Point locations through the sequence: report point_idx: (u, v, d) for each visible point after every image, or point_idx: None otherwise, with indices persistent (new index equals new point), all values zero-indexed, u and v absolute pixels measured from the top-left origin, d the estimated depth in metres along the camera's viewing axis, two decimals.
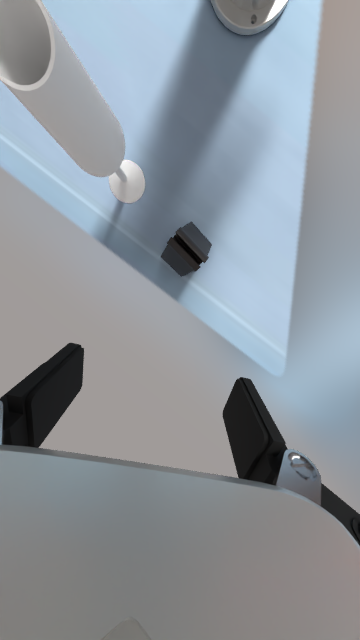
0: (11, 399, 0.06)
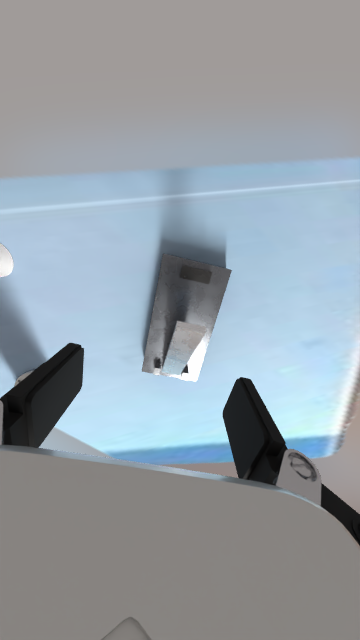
0: (11, 399, 0.06)
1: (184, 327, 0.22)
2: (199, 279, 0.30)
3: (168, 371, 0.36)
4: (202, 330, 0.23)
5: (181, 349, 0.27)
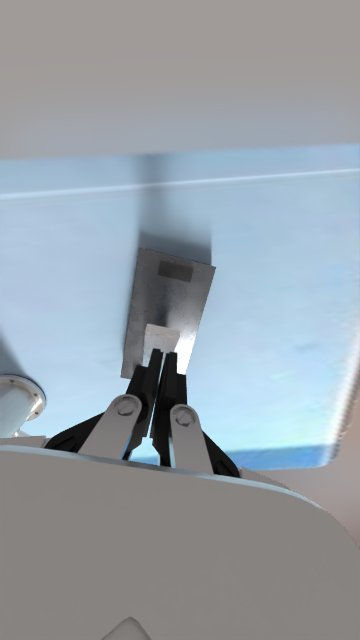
0: (143, 395, 0.08)
1: (155, 331, 0.19)
2: (179, 277, 0.27)
3: None
4: (175, 334, 0.20)
5: None
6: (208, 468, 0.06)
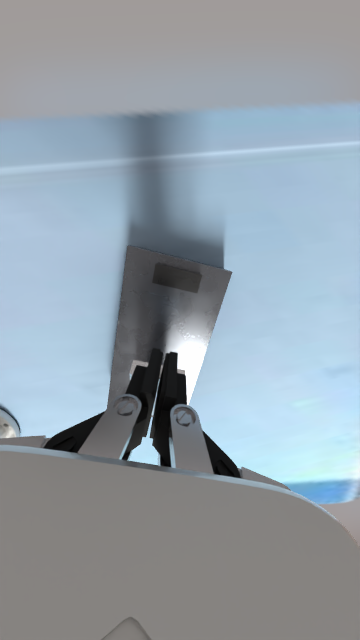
0: (142, 395, 0.08)
1: None
2: (182, 286, 0.19)
3: None
4: None
5: None
6: (208, 468, 0.06)
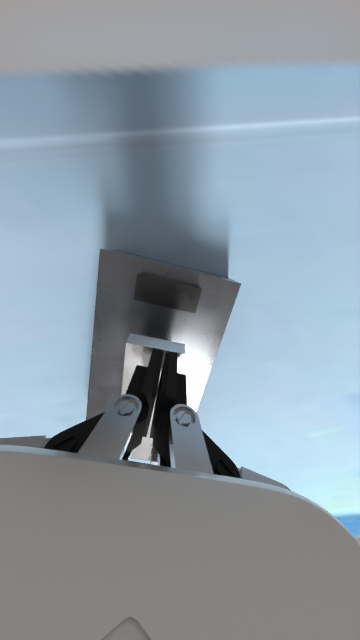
0: (142, 395, 0.08)
1: (144, 343, 0.11)
2: (175, 304, 0.14)
3: None
4: (178, 349, 0.12)
5: None
6: (208, 468, 0.06)
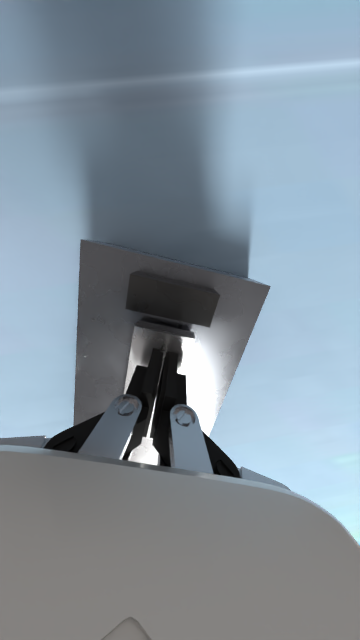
0: (143, 395, 0.08)
1: (152, 328, 0.11)
2: (182, 315, 0.10)
3: None
4: (187, 335, 0.11)
5: None
6: (208, 468, 0.06)
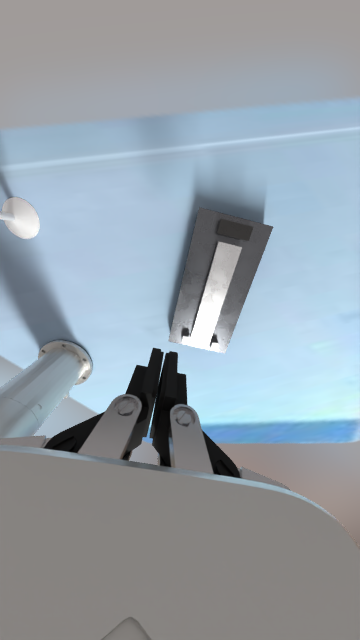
0: (142, 395, 0.08)
1: (225, 243, 0.28)
2: (238, 235, 0.27)
3: (198, 336, 0.35)
4: (238, 246, 0.28)
5: (218, 281, 0.30)
6: (208, 468, 0.06)
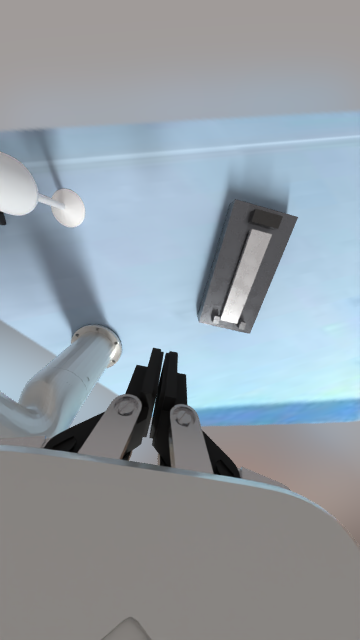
0: (143, 395, 0.08)
1: (257, 230, 0.32)
2: (269, 223, 0.31)
3: (227, 316, 0.38)
4: (268, 233, 0.32)
5: (249, 264, 0.34)
6: (208, 468, 0.06)
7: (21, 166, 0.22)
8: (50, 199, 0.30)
